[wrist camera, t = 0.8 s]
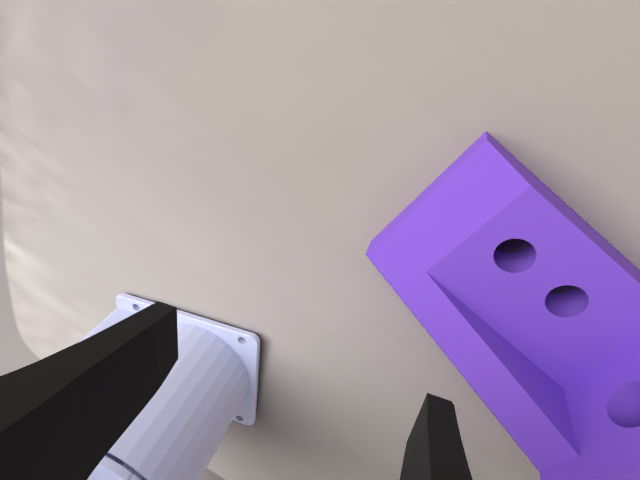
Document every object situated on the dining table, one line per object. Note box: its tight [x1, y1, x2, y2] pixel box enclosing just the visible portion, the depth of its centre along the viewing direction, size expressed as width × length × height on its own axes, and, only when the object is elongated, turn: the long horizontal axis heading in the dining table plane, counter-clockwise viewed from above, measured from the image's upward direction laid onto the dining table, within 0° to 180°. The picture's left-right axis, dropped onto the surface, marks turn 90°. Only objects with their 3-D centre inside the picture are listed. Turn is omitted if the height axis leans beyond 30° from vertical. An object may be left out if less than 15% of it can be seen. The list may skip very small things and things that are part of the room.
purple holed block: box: [366, 132, 640, 480], centre depth 16 cm, size 12×7×7 cm, turn 53°
